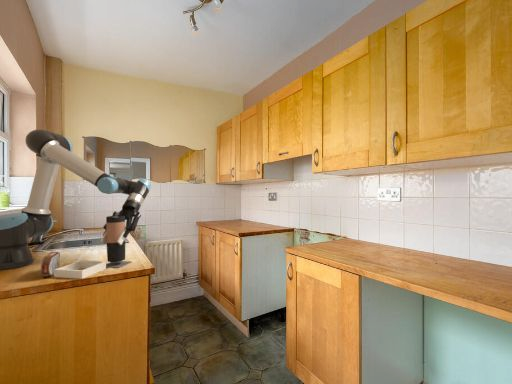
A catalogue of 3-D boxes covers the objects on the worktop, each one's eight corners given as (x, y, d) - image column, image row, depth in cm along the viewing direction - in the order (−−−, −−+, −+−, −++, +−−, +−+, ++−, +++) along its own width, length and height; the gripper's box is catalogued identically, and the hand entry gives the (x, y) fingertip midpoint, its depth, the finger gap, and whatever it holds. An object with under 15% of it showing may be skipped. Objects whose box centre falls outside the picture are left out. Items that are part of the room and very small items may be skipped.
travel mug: (111, 263, 112) (110, 217, 112) (103, 260, 117) (102, 216, 116) (129, 259, 118) (128, 216, 118) (121, 256, 123) (120, 215, 123)
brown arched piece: (52, 269, 112) (52, 249, 112) (61, 268, 113) (61, 249, 113) (40, 280, 98) (39, 258, 98) (50, 279, 100) (49, 257, 100)
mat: (100, 267, 114) (100, 266, 114) (114, 261, 123) (114, 260, 123) (118, 268, 112) (118, 267, 112) (131, 262, 121) (131, 261, 121)
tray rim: (54, 277, 102) (53, 269, 101) (80, 267, 114) (80, 260, 114) (82, 278, 100) (82, 270, 100) (106, 268, 112) (105, 261, 112)
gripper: (154, 209, 131) (135, 248, 115) (118, 208, 134) (95, 246, 118) (148, 199, 125) (127, 238, 110) (111, 199, 129) (85, 237, 113)
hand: (110, 242), depth 114 cm, fingers closed on travel mug, 7 cm apart
